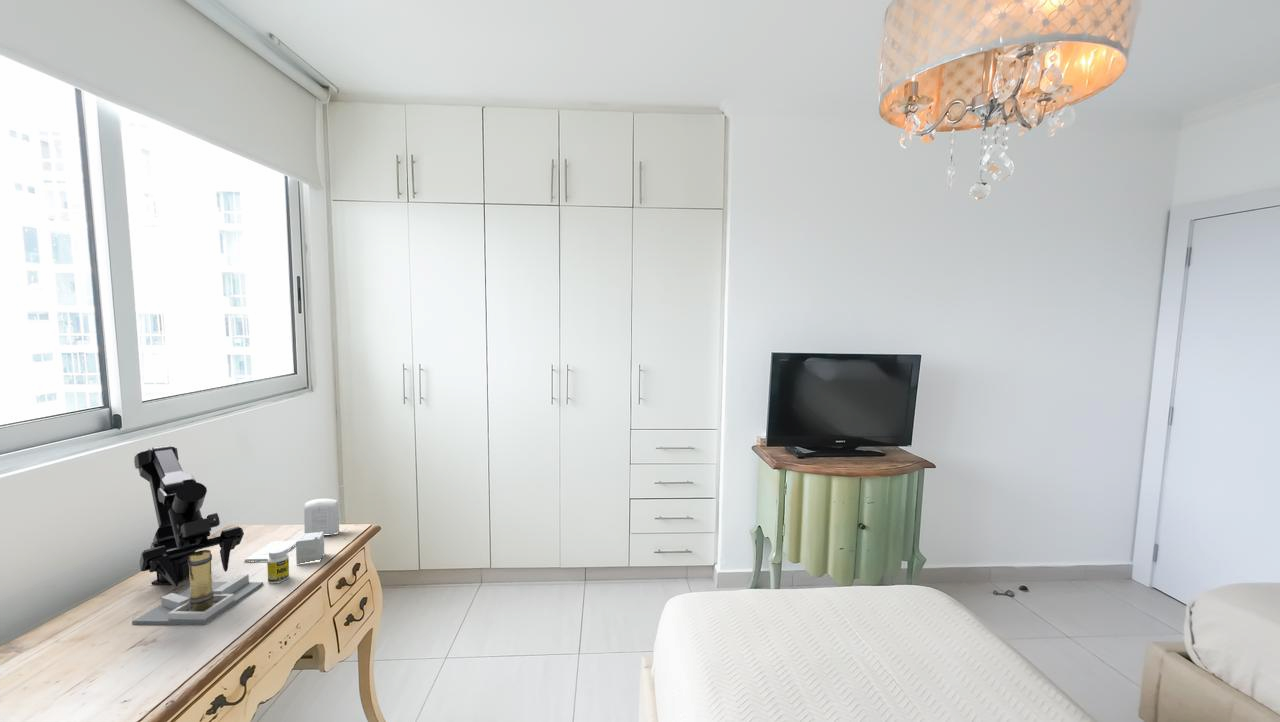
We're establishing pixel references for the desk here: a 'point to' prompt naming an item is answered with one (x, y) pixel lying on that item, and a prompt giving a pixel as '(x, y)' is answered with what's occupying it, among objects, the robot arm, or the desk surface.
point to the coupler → (200, 580)
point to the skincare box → (309, 547)
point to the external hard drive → (264, 552)
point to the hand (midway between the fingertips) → (202, 578)
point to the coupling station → (179, 611)
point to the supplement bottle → (278, 565)
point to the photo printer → (321, 516)
